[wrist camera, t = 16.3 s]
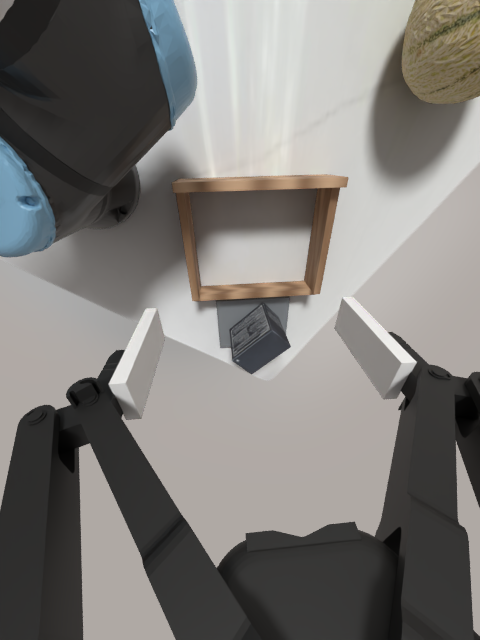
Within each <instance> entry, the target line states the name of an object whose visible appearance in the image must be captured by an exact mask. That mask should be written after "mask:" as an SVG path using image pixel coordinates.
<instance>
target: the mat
mask: <svg viewBox="0 0 480 640" xmlns="http://www.w3.org/2000/svg"><path fill="white" fill-rule="evenodd" d="M289 301H290V297H289V296H285V297H267V298H249V299H231V300H216V304H217V315H218V326H219V337H220V348H224V347H231V339H230V332H229V329H230V328H232V327H233V326H234V325H235V324H236V323H238V322H239V321H240V320H241V319H243V318H244V317H245V316H246V315H248V314H249V313H250V312H251V311H252V310H254V309H255V308H256V307H257V306H259V305H260V304H261V303H262V302H263V303H265V304H266V305H267V306H268V307H269V308H270V309H271V310H272V311H273V312H274V313H275V314H276V315H277V316H278V317H279V319H280V322H281V324H282V327H283V329H284V332H285V334H286V328H287V319H288V310H289Z"/></svg>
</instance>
